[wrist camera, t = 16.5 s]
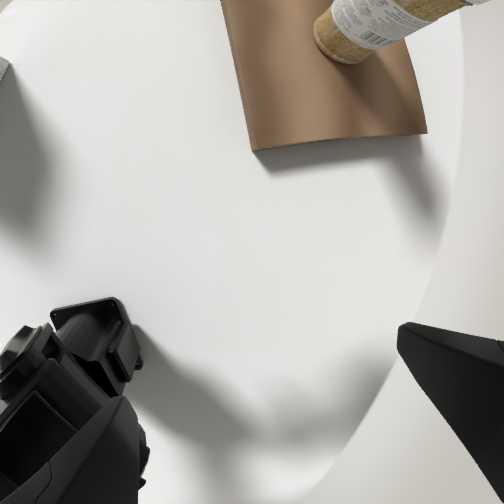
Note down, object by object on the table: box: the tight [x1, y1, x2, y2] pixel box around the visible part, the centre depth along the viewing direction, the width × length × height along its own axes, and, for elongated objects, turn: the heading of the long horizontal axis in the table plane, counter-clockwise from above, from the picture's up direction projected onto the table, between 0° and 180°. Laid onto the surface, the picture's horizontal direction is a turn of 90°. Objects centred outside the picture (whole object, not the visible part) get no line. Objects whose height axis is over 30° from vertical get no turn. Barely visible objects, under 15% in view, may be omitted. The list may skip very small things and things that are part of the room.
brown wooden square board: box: [220, 0, 428, 151], centre depth 17 cm, size 14×14×2 cm
